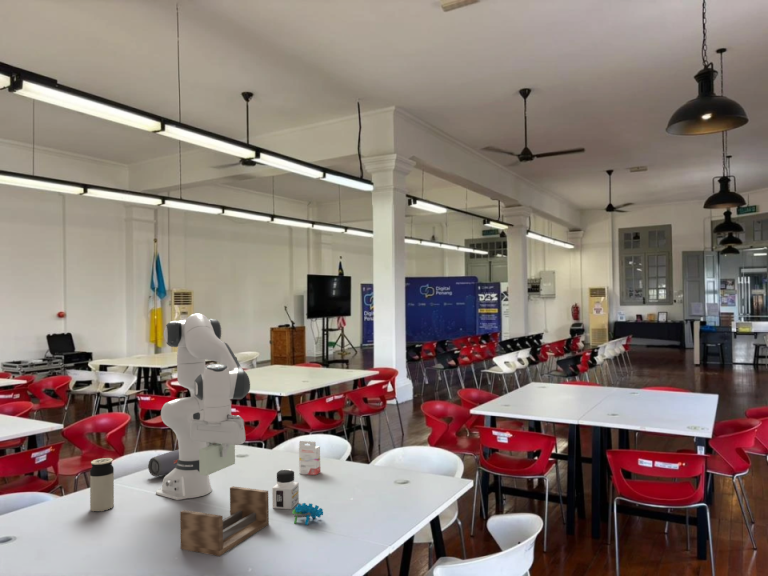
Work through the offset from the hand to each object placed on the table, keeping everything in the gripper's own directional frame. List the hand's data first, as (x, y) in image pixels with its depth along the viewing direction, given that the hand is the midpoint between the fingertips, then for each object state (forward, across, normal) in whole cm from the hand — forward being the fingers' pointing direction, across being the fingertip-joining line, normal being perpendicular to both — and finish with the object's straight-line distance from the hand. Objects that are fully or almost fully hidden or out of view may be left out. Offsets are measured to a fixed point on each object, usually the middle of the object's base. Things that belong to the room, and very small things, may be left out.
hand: (217, 456), depth 183 cm
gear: (+27, -21, -22) cm, 40 cm away
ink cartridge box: (+26, +8, -72) cm, 77 cm away
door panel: (+4, 0, 0) cm, 4 cm away
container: (+26, -5, -33) cm, 42 cm away
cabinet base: (+26, -2, -2) cm, 26 cm away
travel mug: (+26, +60, -6) cm, 66 cm away
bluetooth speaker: (+26, +67, -52) cm, 89 cm away
